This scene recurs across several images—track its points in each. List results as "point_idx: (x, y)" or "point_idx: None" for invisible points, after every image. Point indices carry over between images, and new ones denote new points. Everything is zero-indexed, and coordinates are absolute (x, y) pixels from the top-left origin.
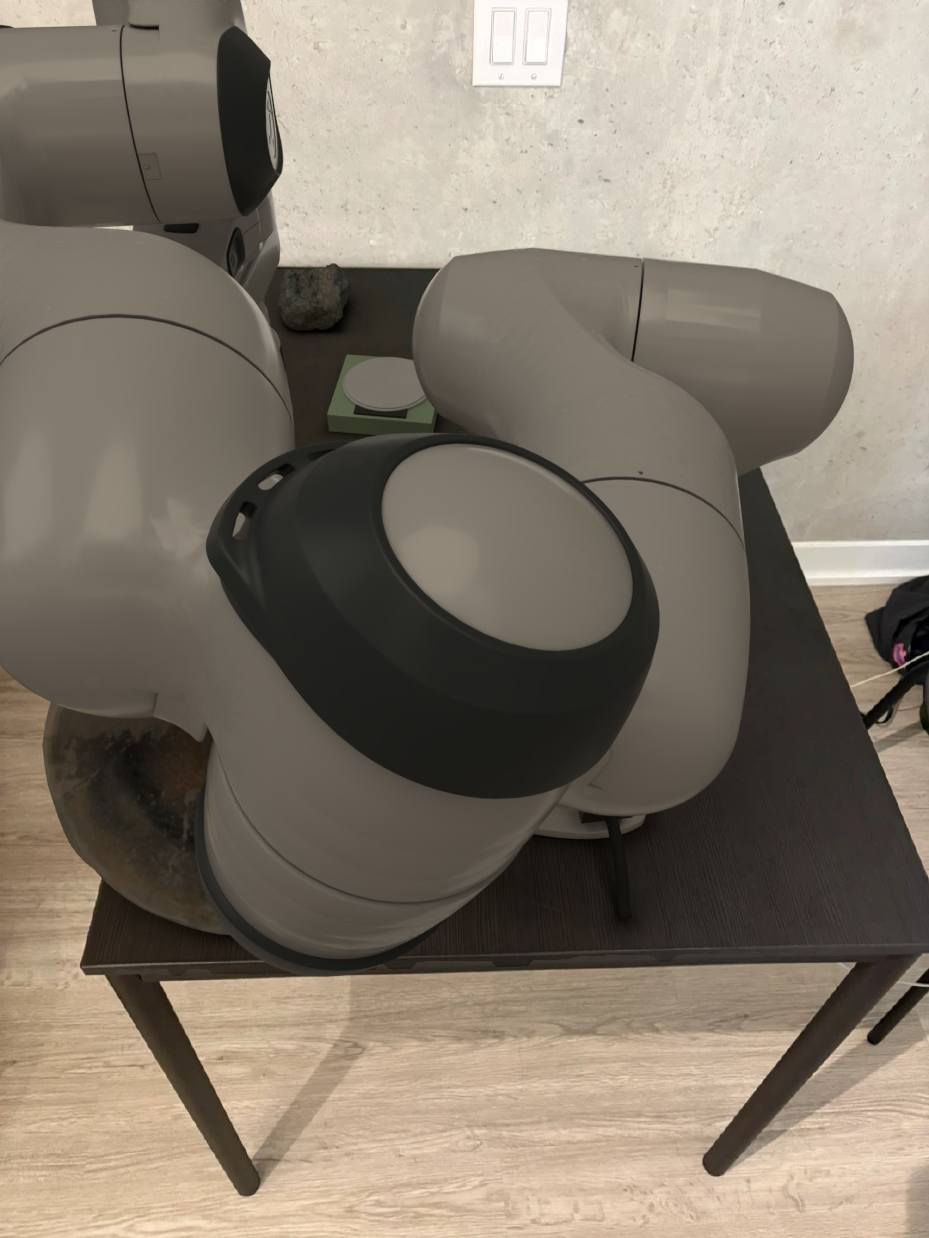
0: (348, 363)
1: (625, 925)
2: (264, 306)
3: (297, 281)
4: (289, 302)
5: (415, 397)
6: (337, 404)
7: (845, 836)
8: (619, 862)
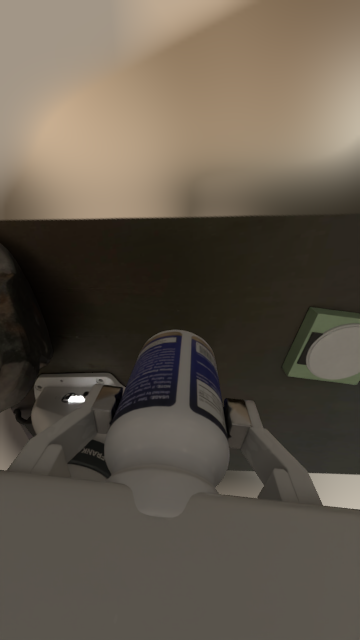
0: None
1: (16, 408)
2: None
3: None
4: None
5: (316, 371)
6: (329, 320)
7: None
8: (18, 421)
